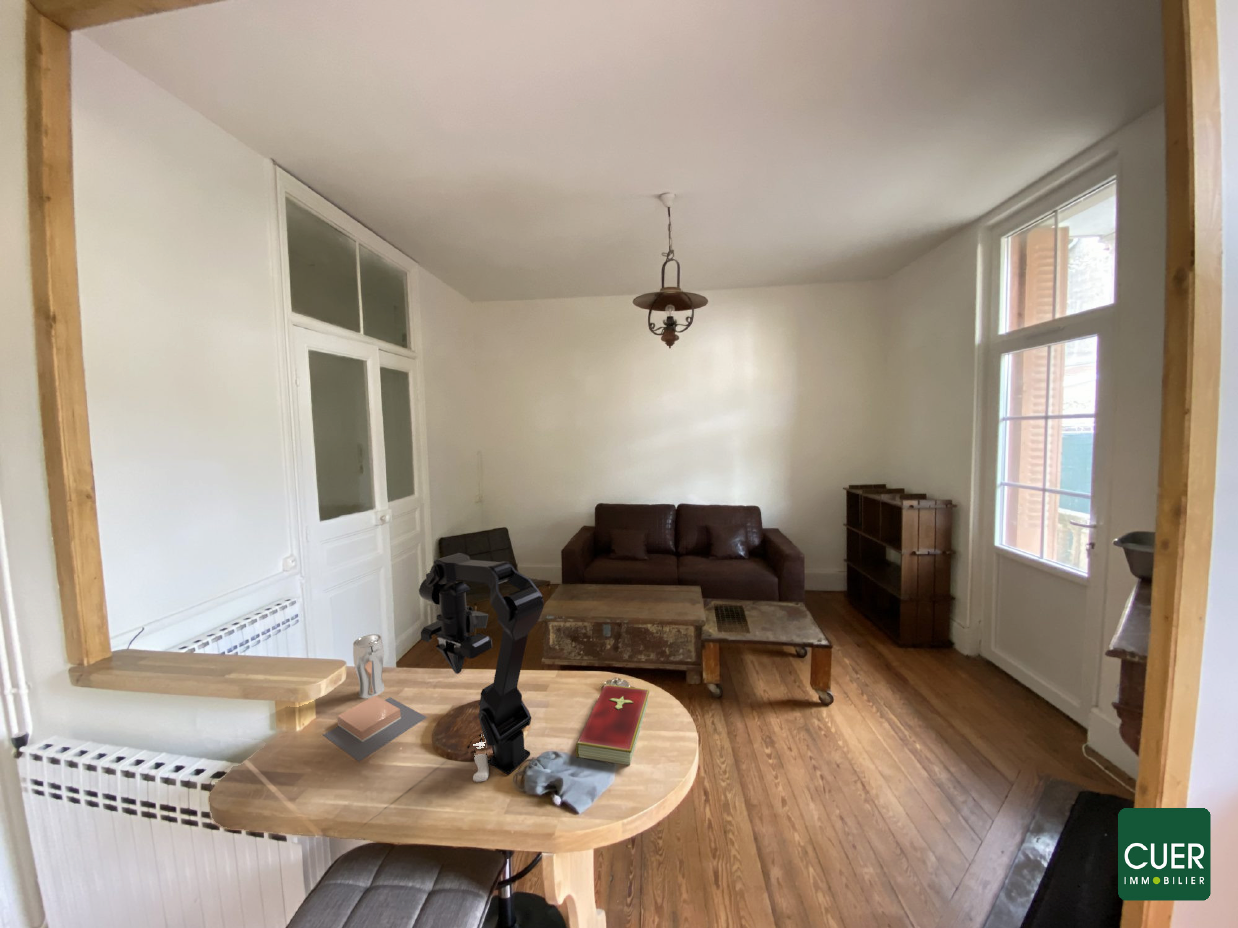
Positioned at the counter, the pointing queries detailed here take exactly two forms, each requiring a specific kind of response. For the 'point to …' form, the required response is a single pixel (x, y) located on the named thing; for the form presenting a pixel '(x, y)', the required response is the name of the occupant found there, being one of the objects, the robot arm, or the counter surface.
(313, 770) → the counter surface
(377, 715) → the tile
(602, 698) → the hardcover book
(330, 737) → the mat
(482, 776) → the knife
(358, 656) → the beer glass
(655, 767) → the counter surface
